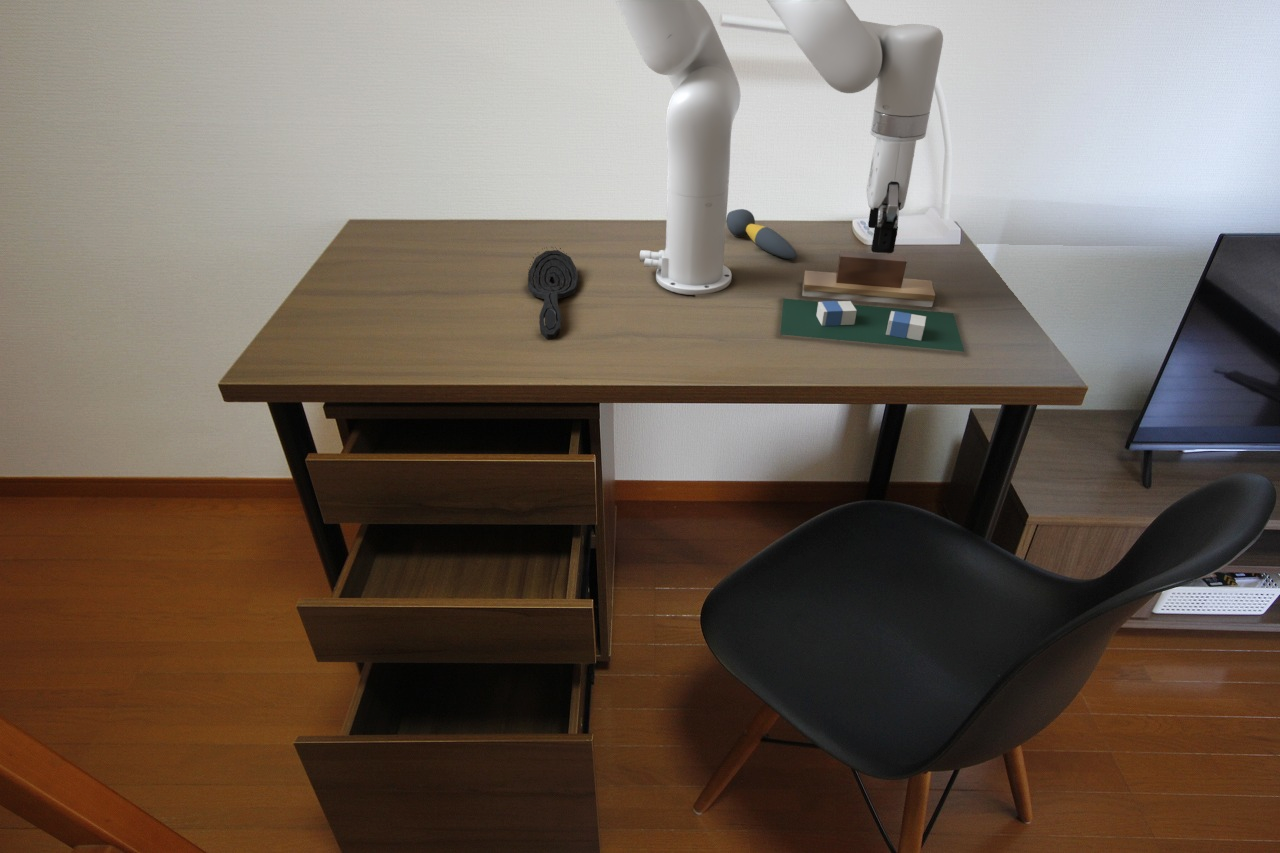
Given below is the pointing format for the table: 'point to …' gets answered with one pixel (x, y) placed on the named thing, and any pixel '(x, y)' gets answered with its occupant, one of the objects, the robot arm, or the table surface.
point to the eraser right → (906, 325)
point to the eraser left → (836, 313)
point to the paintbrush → (759, 234)
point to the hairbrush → (552, 287)
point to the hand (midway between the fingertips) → (880, 239)
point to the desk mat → (870, 326)
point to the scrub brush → (869, 281)
